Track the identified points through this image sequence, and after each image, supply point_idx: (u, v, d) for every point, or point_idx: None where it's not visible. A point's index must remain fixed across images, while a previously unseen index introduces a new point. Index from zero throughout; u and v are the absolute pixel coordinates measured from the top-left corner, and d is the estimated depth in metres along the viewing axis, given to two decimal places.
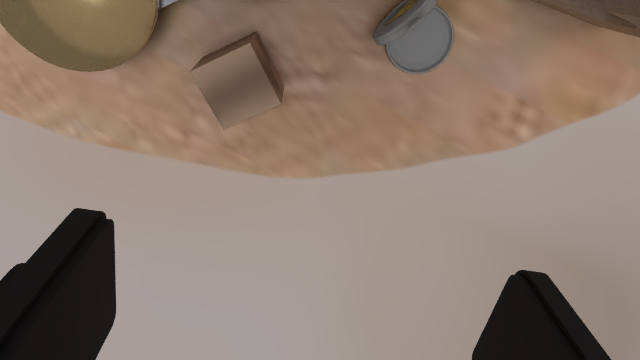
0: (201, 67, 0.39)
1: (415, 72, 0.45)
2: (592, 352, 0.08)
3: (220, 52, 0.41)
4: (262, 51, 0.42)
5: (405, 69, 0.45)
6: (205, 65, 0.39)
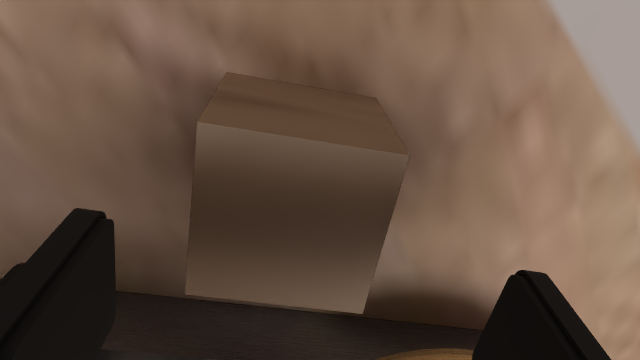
0: (330, 307, 0.15)
1: None
2: (592, 352, 0.08)
3: None
4: None
5: None
6: (318, 306, 0.15)
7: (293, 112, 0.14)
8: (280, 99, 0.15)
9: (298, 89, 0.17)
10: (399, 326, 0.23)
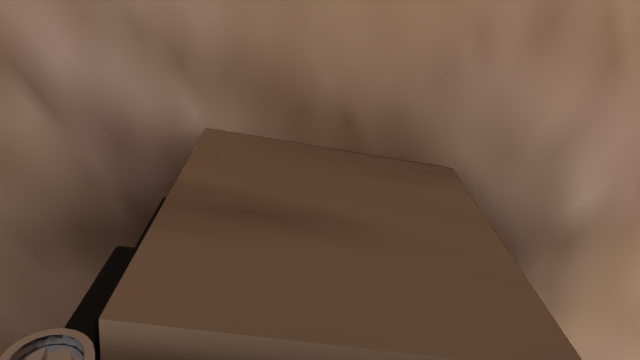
0: None
1: None
2: None
3: None
4: None
5: None
6: None
7: (323, 235, 0.07)
8: (297, 194, 0.08)
9: (326, 161, 0.10)
10: None
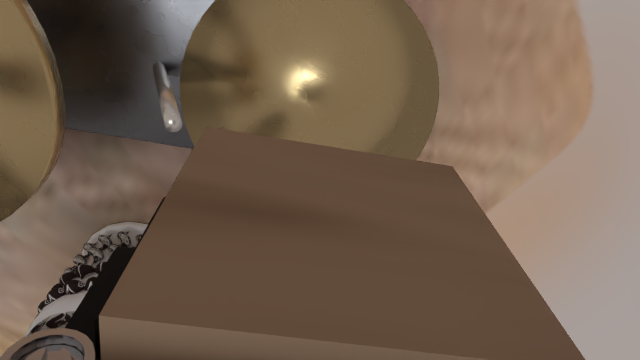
0: None
1: None
2: None
3: None
4: None
5: None
6: None
7: (324, 233, 0.07)
8: (298, 192, 0.08)
9: (326, 159, 0.10)
10: None
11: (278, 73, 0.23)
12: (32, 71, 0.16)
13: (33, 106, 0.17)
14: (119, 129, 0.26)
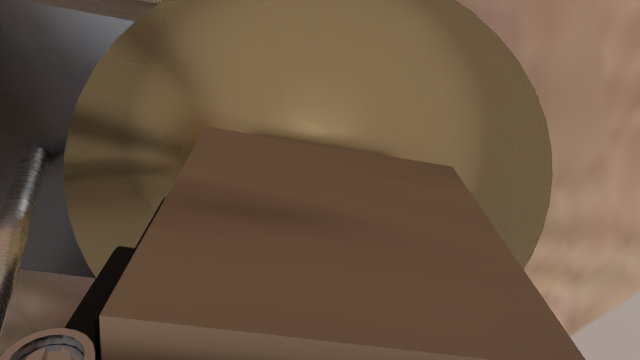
0: None
1: None
2: None
3: None
4: None
5: None
6: None
7: (324, 233, 0.07)
8: (298, 192, 0.08)
9: (326, 159, 0.10)
10: None
11: None
12: None
13: None
14: None
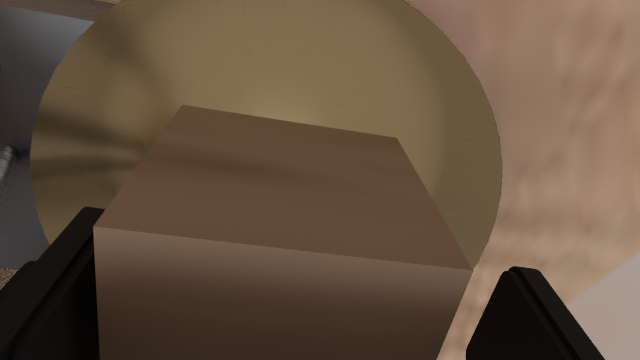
0: None
1: None
2: (582, 347, 0.08)
3: None
4: None
5: None
6: None
7: (275, 181, 0.09)
8: (257, 153, 0.10)
9: (285, 130, 0.12)
10: None
11: None
12: None
13: None
14: None
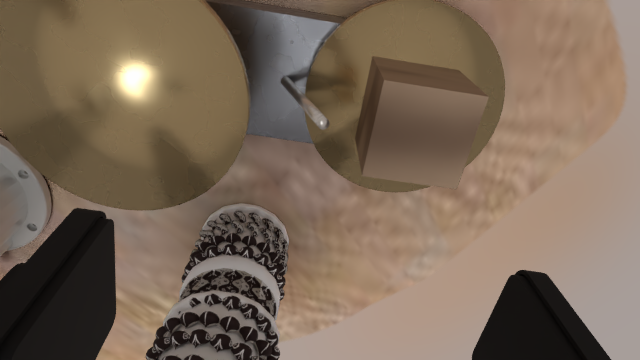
0: (439, 185, 0.27)
1: None
2: (592, 352, 0.08)
3: None
4: (362, 128, 0.30)
5: None
6: (432, 184, 0.27)
7: (422, 76, 0.27)
8: (411, 70, 0.28)
9: (415, 65, 0.29)
10: None
11: None
12: (239, 90, 0.24)
13: (235, 114, 0.24)
14: (250, 128, 0.34)
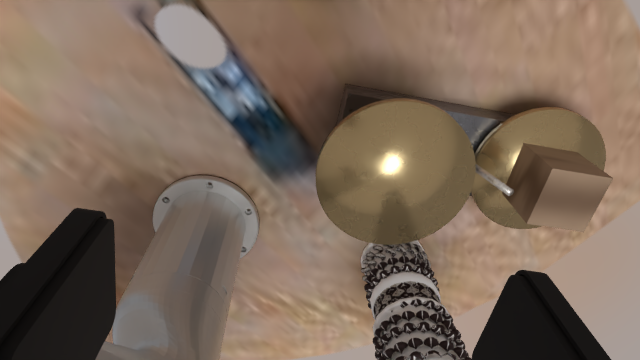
0: (573, 229, 0.43)
1: None
2: (592, 352, 0.08)
3: None
4: (516, 190, 0.45)
5: None
6: (569, 229, 0.43)
7: (566, 162, 0.42)
8: (555, 156, 0.43)
9: (552, 150, 0.45)
10: None
11: None
12: (470, 175, 0.39)
13: (464, 188, 0.40)
14: None
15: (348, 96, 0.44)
